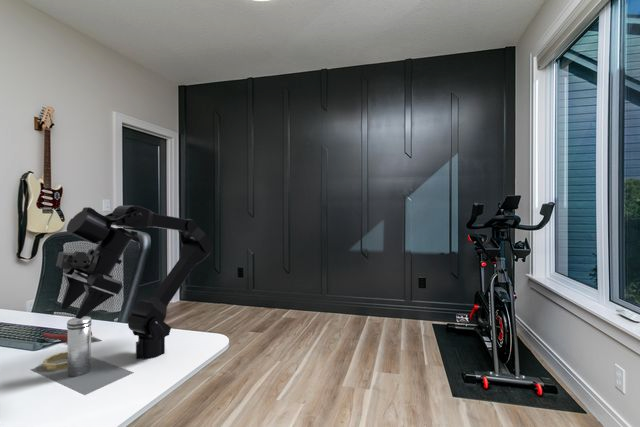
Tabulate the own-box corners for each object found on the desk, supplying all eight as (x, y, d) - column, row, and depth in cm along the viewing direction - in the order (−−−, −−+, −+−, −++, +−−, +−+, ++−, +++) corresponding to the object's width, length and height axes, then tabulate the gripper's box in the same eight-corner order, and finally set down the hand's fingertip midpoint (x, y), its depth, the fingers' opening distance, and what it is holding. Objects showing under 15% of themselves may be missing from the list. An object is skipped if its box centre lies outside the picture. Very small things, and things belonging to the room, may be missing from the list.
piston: (91, 365, 83) (91, 315, 83) (90, 373, 79) (91, 320, 79) (67, 370, 80) (68, 318, 80) (65, 379, 76) (66, 324, 76)
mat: (30, 373, 81) (30, 369, 81) (79, 356, 91) (79, 352, 91) (85, 399, 70) (85, 394, 70) (134, 376, 80) (134, 372, 80)
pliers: (75, 354, 93) (76, 345, 93) (39, 341, 102) (39, 333, 102) (116, 340, 103) (116, 332, 103) (79, 329, 112) (79, 322, 112)
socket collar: (83, 357, 90) (83, 348, 90) (81, 369, 83) (81, 359, 83) (45, 364, 85) (45, 355, 85) (40, 378, 79) (40, 367, 79)
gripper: (61, 232, 79) (17, 294, 73) (92, 240, 68) (44, 313, 63) (105, 251, 87) (69, 308, 81) (139, 261, 77) (100, 327, 71)
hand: (69, 313), depth 74 cm, fingers open, 9 cm apart
